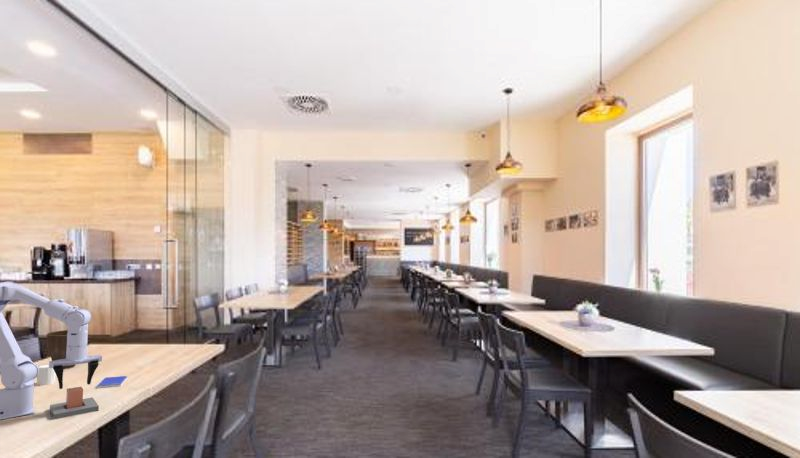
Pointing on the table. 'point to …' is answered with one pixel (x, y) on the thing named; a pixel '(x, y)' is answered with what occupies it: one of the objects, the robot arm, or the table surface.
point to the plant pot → (58, 346)
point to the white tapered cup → (46, 375)
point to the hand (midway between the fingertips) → (75, 385)
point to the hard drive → (112, 382)
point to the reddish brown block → (74, 397)
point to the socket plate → (61, 411)
